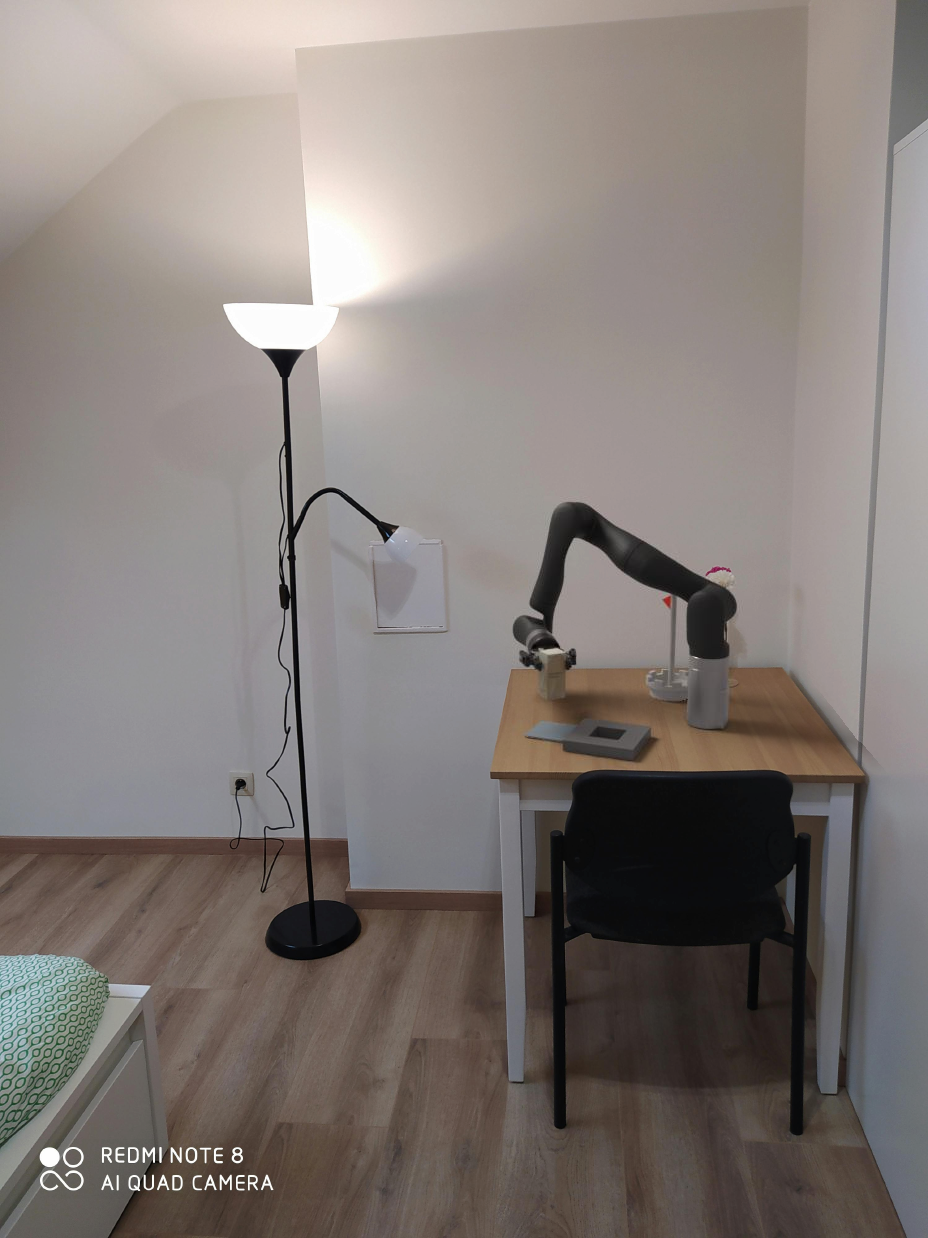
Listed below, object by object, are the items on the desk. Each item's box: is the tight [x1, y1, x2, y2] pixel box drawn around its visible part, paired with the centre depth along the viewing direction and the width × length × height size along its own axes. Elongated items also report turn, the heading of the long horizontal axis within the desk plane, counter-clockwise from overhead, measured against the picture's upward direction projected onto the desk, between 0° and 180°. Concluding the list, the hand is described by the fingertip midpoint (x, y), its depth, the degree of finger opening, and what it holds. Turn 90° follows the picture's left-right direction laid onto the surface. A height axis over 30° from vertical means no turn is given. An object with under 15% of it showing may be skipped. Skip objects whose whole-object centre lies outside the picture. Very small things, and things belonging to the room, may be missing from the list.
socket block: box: [562, 717, 652, 761], centre depth 208 cm, size 16×16×2 cm
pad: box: [524, 720, 578, 744], centre depth 216 cm, size 10×11×1 cm
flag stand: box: [645, 594, 689, 702], centre depth 239 cm, size 13×13×30 cm
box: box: [538, 648, 567, 701], centre depth 213 cm, size 5×4×11 cm
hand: (554, 666), depth 210 cm, fingers closed on box, 6 cm apart
